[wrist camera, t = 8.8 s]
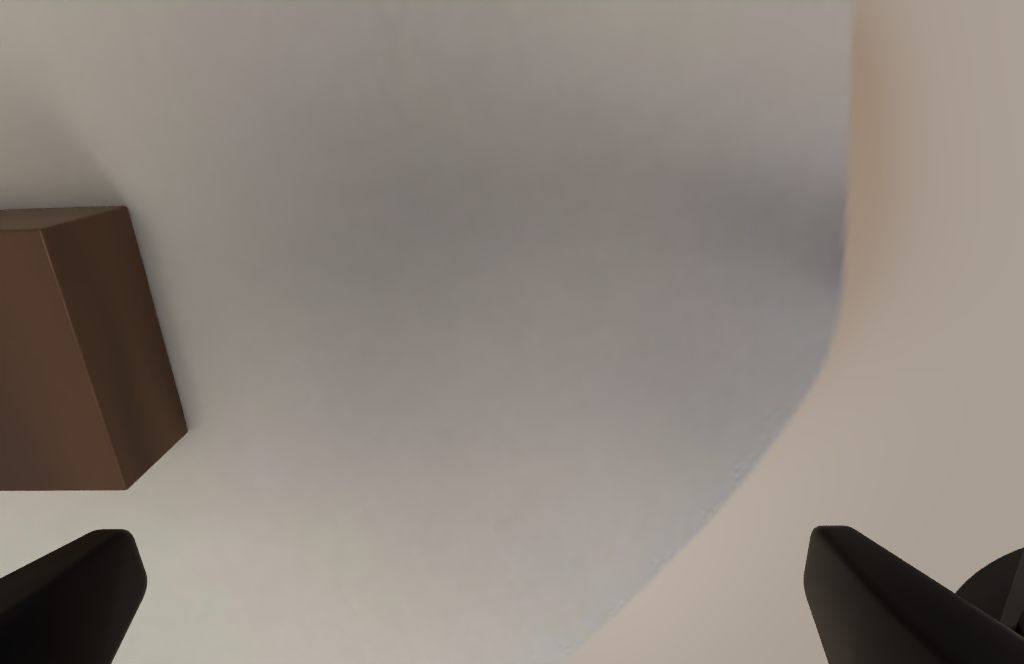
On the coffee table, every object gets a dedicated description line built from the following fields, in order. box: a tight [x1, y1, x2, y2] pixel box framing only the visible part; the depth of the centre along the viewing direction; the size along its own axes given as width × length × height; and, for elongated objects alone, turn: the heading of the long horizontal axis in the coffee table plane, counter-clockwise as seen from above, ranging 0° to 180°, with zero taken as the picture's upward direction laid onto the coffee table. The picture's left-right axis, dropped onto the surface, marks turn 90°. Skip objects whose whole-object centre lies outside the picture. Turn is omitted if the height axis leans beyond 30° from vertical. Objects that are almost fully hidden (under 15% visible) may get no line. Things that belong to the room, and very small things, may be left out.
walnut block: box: [0, 206, 187, 491], centre depth 16 cm, size 7×7×3 cm
